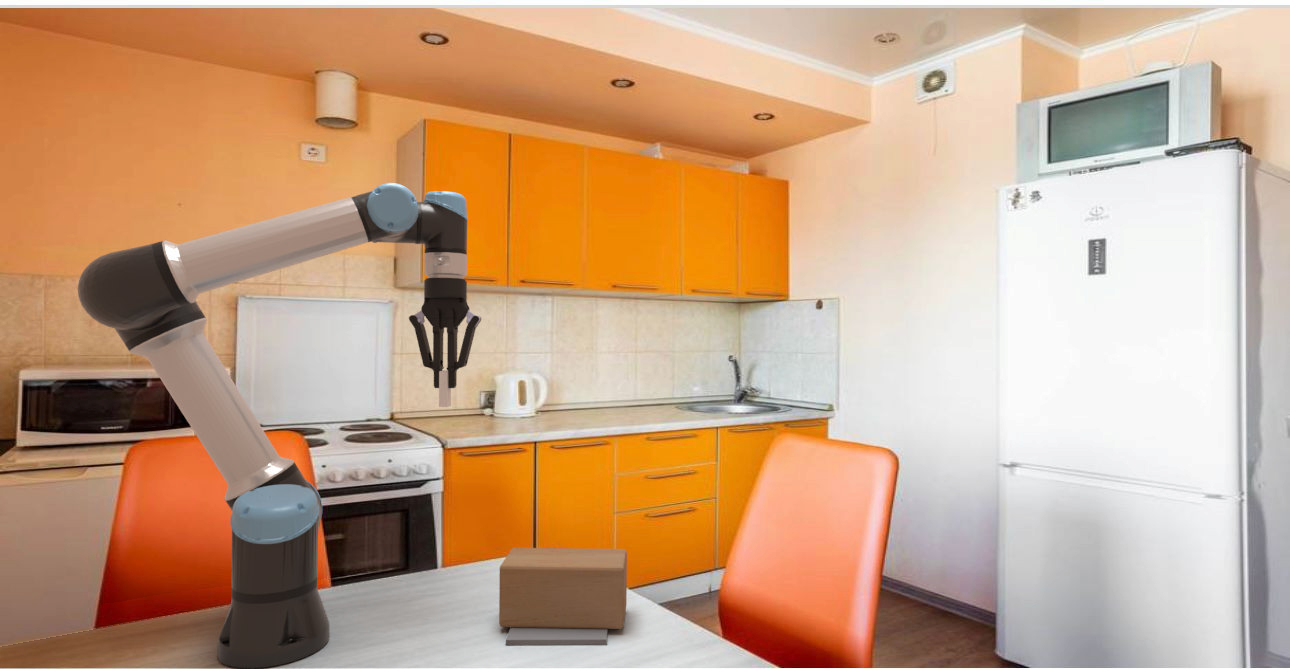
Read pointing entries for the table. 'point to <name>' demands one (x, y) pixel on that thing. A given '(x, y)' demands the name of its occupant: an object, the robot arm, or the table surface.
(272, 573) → the robot arm
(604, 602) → the wooden block
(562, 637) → the mat
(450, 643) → the table surface
